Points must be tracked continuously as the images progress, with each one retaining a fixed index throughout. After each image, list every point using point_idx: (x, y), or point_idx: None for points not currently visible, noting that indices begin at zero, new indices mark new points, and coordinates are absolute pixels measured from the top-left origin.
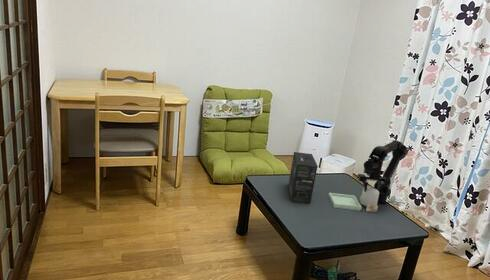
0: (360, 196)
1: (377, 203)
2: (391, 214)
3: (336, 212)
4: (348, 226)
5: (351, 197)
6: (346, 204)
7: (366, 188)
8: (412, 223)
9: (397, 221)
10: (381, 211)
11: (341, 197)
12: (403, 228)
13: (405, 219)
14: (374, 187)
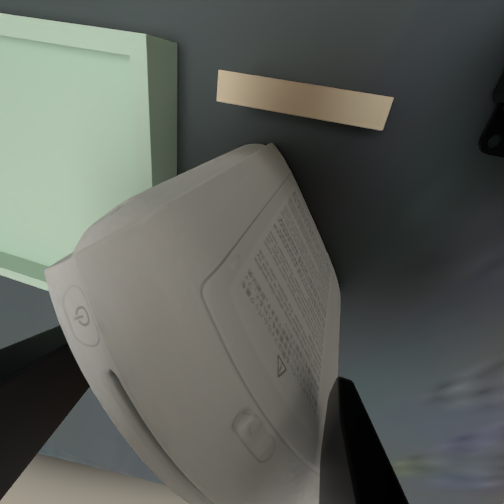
0: (224, 80)
1: (493, 154)
2: (431, 387)
3: (23, 305)
4: (77, 409)
5: (125, 56)
6: (67, 233)
7: (55, 422)
8: (500, 498)
9: (386, 454)
10: (365, 334)
11: (21, 61)
12: None
13: (499, 460)
14: None
